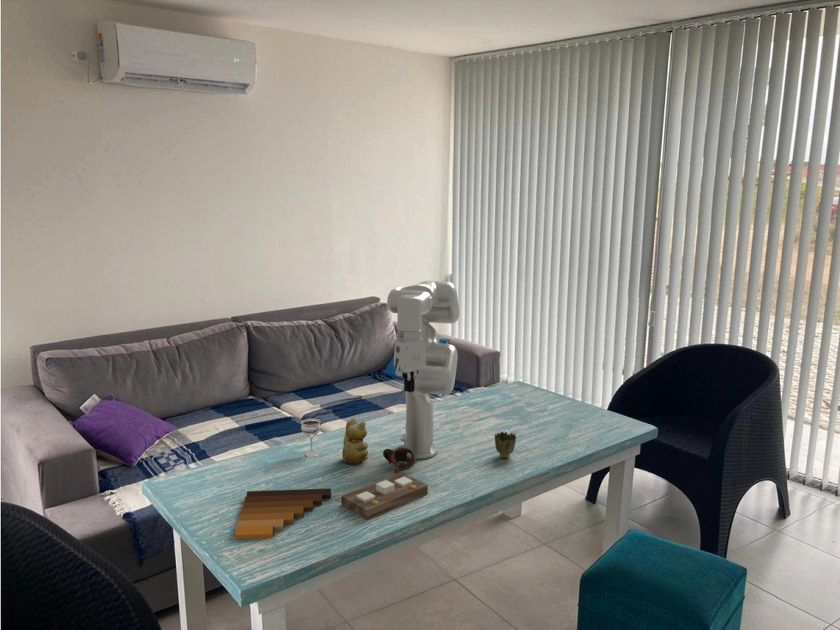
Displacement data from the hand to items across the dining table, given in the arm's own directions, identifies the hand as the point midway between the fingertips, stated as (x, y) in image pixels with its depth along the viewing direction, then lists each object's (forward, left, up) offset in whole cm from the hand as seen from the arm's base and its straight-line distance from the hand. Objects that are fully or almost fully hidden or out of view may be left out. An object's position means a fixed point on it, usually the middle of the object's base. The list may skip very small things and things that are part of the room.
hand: (409, 390), depth 222 cm
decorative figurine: (-21, -6, -29) cm, 37 cm away
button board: (+7, -16, -29) cm, 34 cm away
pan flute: (-5, -44, -30) cm, 53 cm away
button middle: (+7, -16, -27) cm, 32 cm away
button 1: (+7, -24, -28) cm, 37 cm away
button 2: (+7, -8, -28) cm, 30 cm away
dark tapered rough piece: (+11, +35, -29) cm, 47 cm away
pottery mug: (-7, +2, -29) cm, 30 cm away
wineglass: (-36, -13, -29) cm, 48 cm away
